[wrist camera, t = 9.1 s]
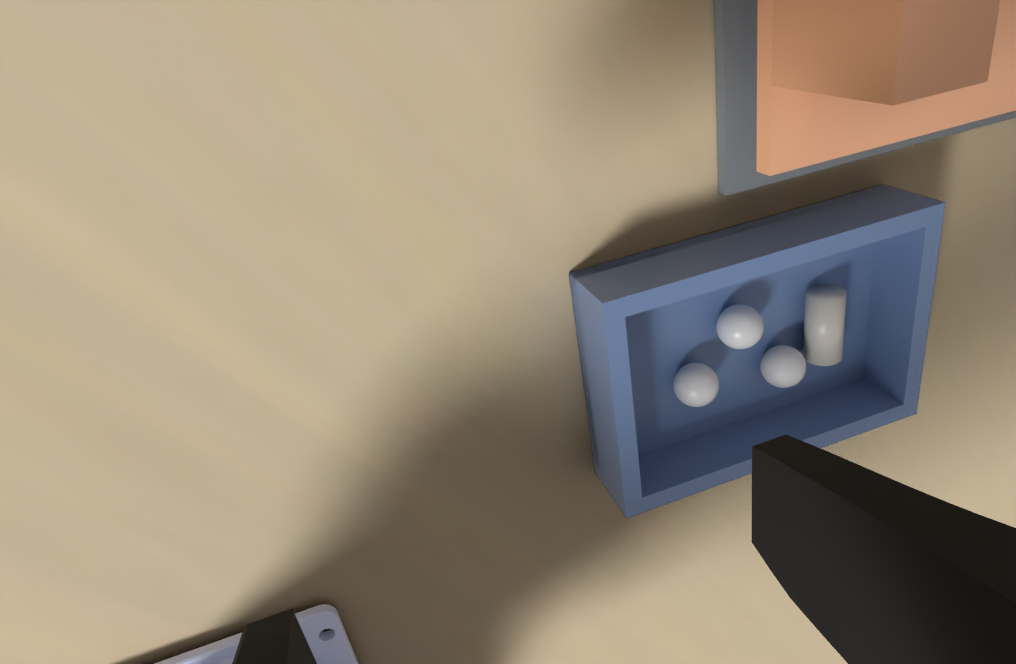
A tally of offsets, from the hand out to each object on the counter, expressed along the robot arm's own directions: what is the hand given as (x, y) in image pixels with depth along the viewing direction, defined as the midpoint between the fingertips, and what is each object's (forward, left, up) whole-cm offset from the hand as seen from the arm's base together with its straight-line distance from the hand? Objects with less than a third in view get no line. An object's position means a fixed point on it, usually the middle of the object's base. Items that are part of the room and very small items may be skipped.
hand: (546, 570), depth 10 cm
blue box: (-4, -10, -10) cm, 15 cm away
